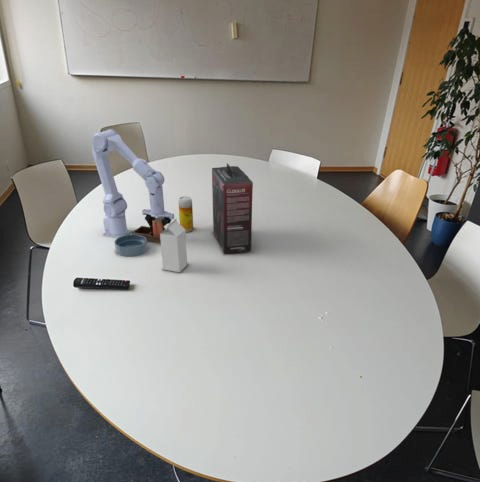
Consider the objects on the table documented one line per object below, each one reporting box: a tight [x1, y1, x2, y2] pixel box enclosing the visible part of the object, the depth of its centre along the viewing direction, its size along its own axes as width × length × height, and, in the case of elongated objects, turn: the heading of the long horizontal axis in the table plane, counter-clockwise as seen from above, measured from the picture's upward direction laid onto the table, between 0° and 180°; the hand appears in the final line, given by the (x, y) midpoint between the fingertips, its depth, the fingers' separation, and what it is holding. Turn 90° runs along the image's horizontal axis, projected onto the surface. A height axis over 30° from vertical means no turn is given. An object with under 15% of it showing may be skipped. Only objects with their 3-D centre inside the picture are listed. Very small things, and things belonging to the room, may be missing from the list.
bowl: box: [114, 234, 149, 258], centre depth 180 cm, size 13×13×4 cm
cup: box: [152, 217, 164, 237], centre depth 188 cm, size 6×6×8 cm
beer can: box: [178, 196, 194, 233], centre depth 197 cm, size 6×6×15 cm
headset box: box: [211, 163, 254, 254], centre depth 182 cm, size 25×12×33 cm, turn 14°
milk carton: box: [160, 218, 188, 273], centre depth 165 cm, size 7×7×19 cm
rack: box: [131, 225, 161, 245], centre depth 191 cm, size 16×8×4 cm, turn 69°
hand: (159, 232), depth 189 cm, fingers closed on cup, 6 cm apart
